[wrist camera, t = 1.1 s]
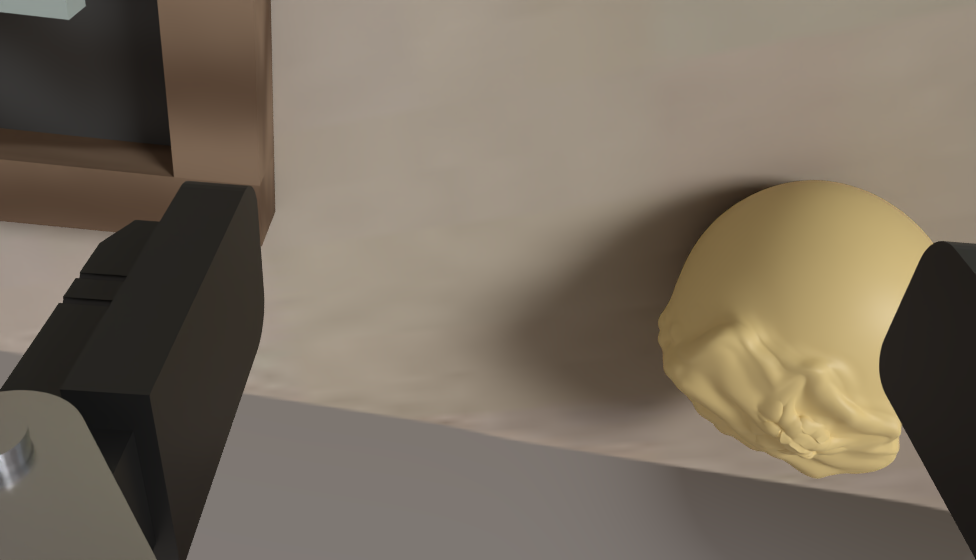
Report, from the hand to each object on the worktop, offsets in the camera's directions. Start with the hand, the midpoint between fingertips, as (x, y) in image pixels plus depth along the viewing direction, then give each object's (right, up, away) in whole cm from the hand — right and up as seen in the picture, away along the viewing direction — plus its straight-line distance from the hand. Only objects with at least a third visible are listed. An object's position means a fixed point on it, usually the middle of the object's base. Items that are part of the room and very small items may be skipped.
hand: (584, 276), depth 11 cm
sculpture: (+13, +1, +32) cm, 34 cm away
